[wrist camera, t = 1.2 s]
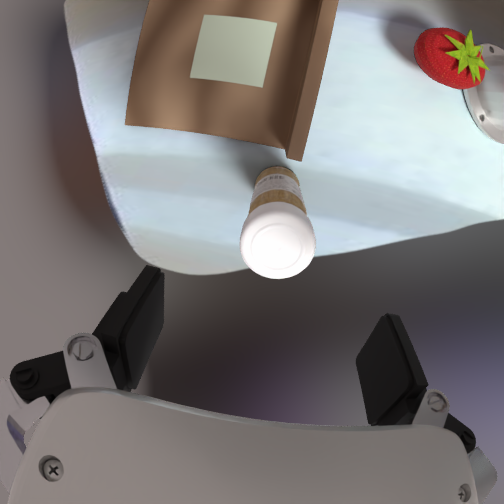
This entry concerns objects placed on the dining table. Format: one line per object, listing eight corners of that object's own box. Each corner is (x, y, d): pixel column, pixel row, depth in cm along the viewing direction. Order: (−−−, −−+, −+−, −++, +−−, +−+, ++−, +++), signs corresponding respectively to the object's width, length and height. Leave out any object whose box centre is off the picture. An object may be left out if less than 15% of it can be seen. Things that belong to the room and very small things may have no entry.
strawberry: (391, 31, 19) (438, 6, 10) (450, 47, 18) (507, 37, 9) (395, 82, 22) (447, 77, 13) (454, 95, 21) (513, 101, 12)
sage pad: (277, 23, 20) (277, 22, 20) (262, 87, 23) (262, 87, 23) (204, 15, 20) (204, 14, 19) (190, 77, 23) (189, 77, 23)
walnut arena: (332, -7, 18) (344, -28, 13) (296, 151, 26) (301, 161, 22) (159, -23, 17) (138, -42, 12) (127, 124, 26) (99, 130, 21)
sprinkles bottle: (255, 207, 30) (240, 281, 18) (254, 164, 27) (236, 212, 16) (299, 208, 29) (313, 282, 17) (300, 165, 27) (319, 212, 15)
